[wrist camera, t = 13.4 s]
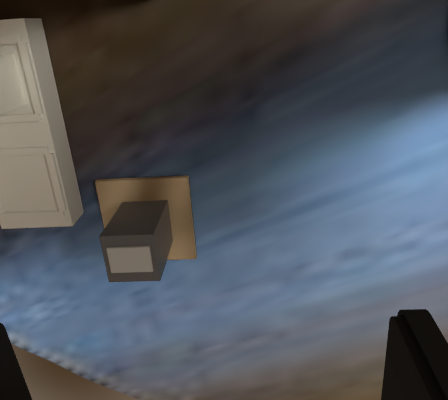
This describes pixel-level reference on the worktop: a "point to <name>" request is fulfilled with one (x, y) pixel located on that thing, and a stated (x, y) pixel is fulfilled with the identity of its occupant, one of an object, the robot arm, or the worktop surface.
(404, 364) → the robot arm
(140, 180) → the coaster
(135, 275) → the block
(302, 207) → the worktop surface
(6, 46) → the power strip
